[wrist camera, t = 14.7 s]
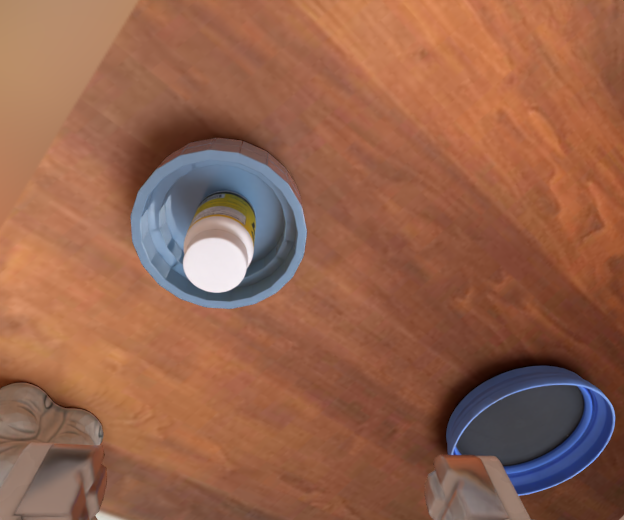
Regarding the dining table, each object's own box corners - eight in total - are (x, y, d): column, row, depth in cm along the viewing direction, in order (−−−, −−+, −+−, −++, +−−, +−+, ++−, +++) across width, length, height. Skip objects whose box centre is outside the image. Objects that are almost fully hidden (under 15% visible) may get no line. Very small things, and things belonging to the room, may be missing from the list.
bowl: (448, 367, 44) (461, 392, 41) (612, 351, 45) (638, 374, 42) (433, 478, 53) (443, 505, 50) (572, 462, 54) (591, 489, 51)
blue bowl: (144, 127, 31) (125, 139, 27) (311, 147, 33) (317, 161, 29) (150, 274, 36) (135, 303, 33) (293, 284, 38) (295, 313, 34)
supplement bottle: (244, 252, 36) (237, 308, 28) (189, 232, 34) (166, 285, 27) (265, 202, 34) (263, 247, 26) (207, 179, 32) (188, 220, 25)
